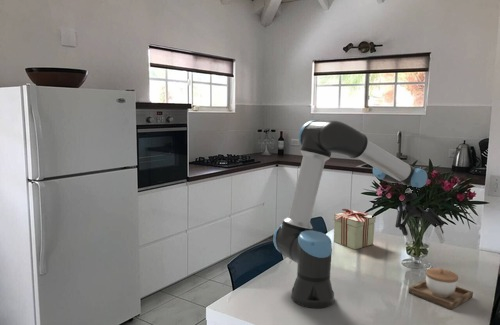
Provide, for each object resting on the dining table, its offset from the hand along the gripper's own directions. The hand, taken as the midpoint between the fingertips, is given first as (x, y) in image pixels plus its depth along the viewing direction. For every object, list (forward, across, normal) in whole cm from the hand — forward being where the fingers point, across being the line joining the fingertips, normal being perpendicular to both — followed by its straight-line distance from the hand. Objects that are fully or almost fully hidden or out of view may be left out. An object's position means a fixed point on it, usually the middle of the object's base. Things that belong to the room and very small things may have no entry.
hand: (426, 242), depth 157 cm
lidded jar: (+19, 0, -4) cm, 20 cm away
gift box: (-22, +10, -46) cm, 52 cm away
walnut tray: (+19, 0, -4) cm, 20 cm away
